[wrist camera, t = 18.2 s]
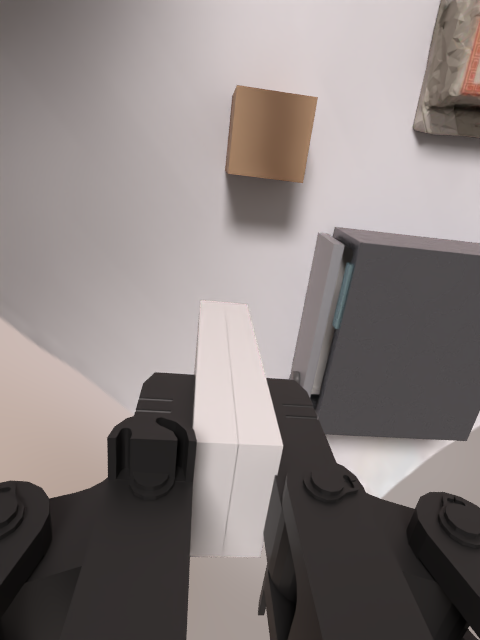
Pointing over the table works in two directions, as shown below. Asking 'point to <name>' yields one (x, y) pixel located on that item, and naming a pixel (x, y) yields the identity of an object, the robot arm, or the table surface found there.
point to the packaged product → (452, 73)
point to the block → (269, 134)
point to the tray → (319, 312)
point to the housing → (404, 339)
